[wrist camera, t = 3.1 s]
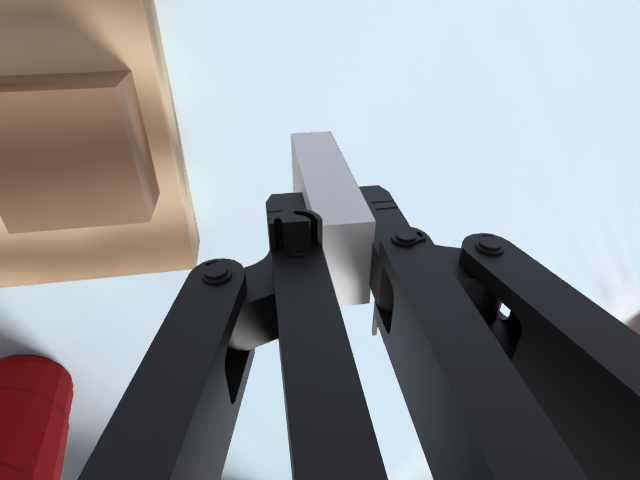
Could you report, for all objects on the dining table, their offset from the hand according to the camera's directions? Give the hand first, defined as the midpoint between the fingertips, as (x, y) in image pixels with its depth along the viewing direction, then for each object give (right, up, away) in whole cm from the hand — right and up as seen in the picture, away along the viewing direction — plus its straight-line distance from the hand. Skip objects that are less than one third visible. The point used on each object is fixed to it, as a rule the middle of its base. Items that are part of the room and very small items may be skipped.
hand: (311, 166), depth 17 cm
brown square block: (-11, +2, +4) cm, 12 cm away
